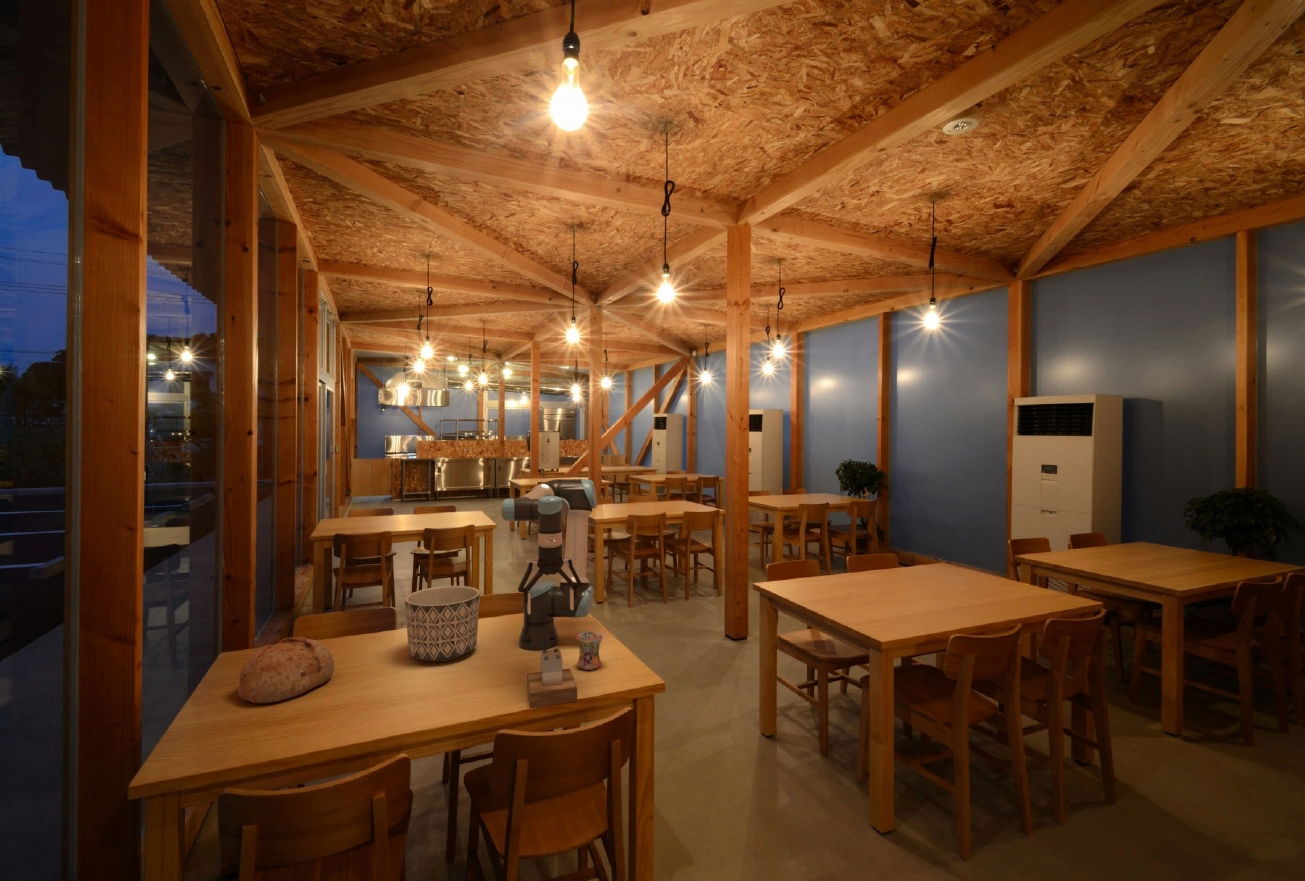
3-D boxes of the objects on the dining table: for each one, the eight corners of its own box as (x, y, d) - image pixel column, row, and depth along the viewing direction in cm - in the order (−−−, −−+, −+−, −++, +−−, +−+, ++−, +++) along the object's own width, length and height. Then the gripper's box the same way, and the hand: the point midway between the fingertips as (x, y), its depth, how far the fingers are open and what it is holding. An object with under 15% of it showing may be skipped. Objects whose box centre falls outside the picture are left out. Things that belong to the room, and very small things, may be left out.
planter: (479, 638, 222) (479, 583, 222) (480, 663, 197) (480, 601, 197) (408, 645, 214) (408, 588, 214) (401, 672, 189) (401, 608, 189)
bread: (270, 713, 161) (270, 661, 161) (218, 699, 170) (218, 650, 170) (349, 676, 186) (349, 632, 186) (300, 666, 194) (300, 623, 194)
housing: (540, 675, 177) (540, 649, 177) (559, 673, 179) (559, 647, 179) (542, 686, 169) (542, 659, 169) (562, 684, 171) (562, 656, 171)
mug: (605, 670, 192) (605, 639, 192) (578, 673, 189) (578, 642, 189) (597, 657, 203) (597, 628, 203) (572, 660, 200) (572, 630, 200)
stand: (526, 686, 179) (526, 672, 179) (570, 680, 183) (570, 667, 183) (530, 707, 165) (530, 693, 165) (577, 701, 169) (577, 687, 169)
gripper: (510, 550, 170) (511, 618, 171) (590, 545, 177) (591, 610, 178) (509, 545, 177) (510, 610, 178) (586, 540, 185) (586, 603, 185)
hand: (550, 610), depth 178 cm, fingers open, 13 cm apart
